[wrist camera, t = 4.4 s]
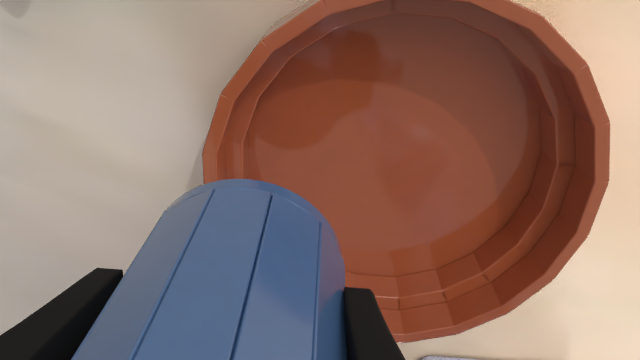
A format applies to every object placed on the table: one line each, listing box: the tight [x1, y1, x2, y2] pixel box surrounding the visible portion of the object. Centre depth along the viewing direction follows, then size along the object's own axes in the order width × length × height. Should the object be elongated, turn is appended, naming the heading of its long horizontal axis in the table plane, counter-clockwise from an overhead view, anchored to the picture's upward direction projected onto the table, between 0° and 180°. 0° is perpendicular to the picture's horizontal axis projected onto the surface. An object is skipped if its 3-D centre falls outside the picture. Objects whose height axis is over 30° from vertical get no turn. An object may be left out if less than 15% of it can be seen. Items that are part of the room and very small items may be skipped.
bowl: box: [202, 0, 610, 343], centre depth 18 cm, size 14×14×4 cm
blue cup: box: [71, 179, 347, 360], centre depth 10 cm, size 5×5×6 cm
